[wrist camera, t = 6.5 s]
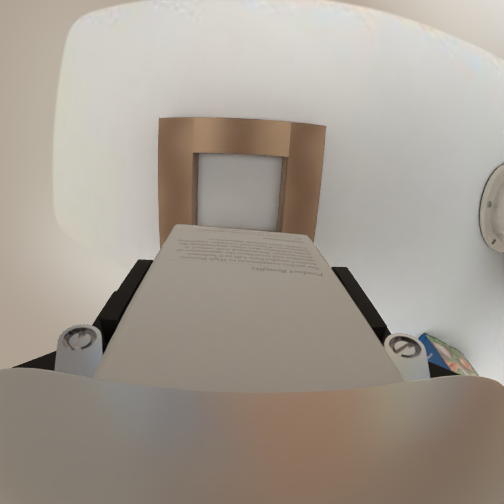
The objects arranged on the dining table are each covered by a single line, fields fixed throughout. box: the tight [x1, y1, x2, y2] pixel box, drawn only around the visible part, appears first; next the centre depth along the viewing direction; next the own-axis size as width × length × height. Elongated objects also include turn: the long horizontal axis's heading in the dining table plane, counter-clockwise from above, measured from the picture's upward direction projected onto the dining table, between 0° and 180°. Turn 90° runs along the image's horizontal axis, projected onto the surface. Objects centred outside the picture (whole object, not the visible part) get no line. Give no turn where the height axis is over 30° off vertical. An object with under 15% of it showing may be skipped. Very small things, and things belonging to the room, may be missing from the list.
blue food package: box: [419, 334, 480, 377], centre depth 28 cm, size 6×12×25 cm, turn 61°
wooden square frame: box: [158, 118, 326, 249], centre depth 28 cm, size 14×14×4 cm
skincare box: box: [93, 224, 405, 393], centre depth 9 cm, size 6×4×12 cm
